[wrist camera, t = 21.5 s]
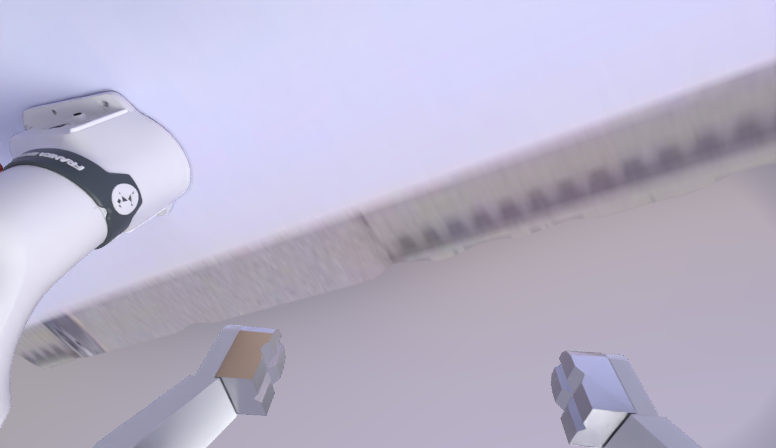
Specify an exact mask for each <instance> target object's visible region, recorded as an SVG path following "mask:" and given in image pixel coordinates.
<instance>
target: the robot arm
mask: <svg viewBox="0 0 776 448" xmlns="http://www.w3.org/2000/svg"><path fill="white" fill-rule="evenodd" d="M106 102H107V103H108V104H107V103H106ZM23 123H24V127H25V131H23V132H20V133H18V134H15V135H13V136H12V137H11V139H10V143H9V147H10V152H11V155H12V158H13V161H12V162H11V163H9V164H8V165H7V166H6V167H4V168H3V167H2V165H1V164H0V429H1V427H2V425H3V424H4V422H5V420H6V418H7V415H8V413H9V410H10V407H11V392H10V375H11V367H12V361H13V357H14V354H15V350H16V347H17V344H18V341H19V339H20V336H21V334H22V332H23V329H24V327H25V325H26V323H27V321H28V319H29V317H30V315H31V314H32V312H33V311H34V309H35V307H36V306H37V304H38V303H39V301H40V300H41V299H42V297H43V296H44V295H45V294H46V293H47V291H48V290H49V289H50V288H51V287H52V286H53V285H54V284H55V283H56V282H57V281H58V280H59V279H61V278H62V277H63V276H64V275H65V274H66V273H67V272H68V271H69V270H70V269H72V268H73V267H74V266H75V265H76V264H77V263H78V262H80V261H81V260H82V259H83V258H84V257H86V256H87V255H88V254H89V253H90V252H92V251H93V250H95V249H99V248H102V247H103V246H105V245H107V244H108V243H110V242H112V241H113V240H115V239H116V238H117V237H119V236H120V234H121V233H122V232H124V233H129V232H131V231H133V230H134V229H136V228H137V227H139V226H140V225H142V224H143V223H145V222H146V221H148V220H149V219H151V218H152V217H154V216H155V215H158V216H164V215H166V214H167V213H169V212H170V211H171V208H172V206H173V202H174V201H175V200H176V199H178V198H179V197H181V196H182V195H183V194H184V193H185V192H186V190H187V189H188V186H189V183H190V167H189V164H188V161H187V158H186V156H185V154H184V152H183V150H182V149H181V147H180V146H179V144H178V143H177V141H176V140H175V139H174V138H173V137H172V136H171V135H170V134H169V133H168V132H167V131H166V130H165V129H164V128H163V127H162V126H160V125H159V124H158V123H156V122H155V121H153V120H152V119H150V118H148V117H147V116H145V115H143V114H142V113H140V112H139V111H137V110H136V109H135V108H134V107H133V106H132V105H131V104H130V103H129V102H128V101H127V100H126V99H125V98H124V97H123V96H121V95H120V94H119V93H117V92H114V91H109V92H104V93H99V94H94V95H89V96H84V97H80V98H75V99H70V100H65V101H60V102H55V103H50V104H45V105H40V106H36V107H31V108H29V109H27V110H25V111H24V112H23ZM280 339H281V334H280V331H279V329H270V328H260V327H249V326H239V325H227V326H226V327H224V328H223V329H222V331H221V333H220V334H219V336H218V338H217V339H216V341H215V343H214V344H213V346H212V348H211V349H210V351H209V353H208V354H207V356H206V358H205V359H204V361H203V363H202V364H201V366H200V368H199V370H198V371H197V373H196V374H195V375H189V376H188V377H187V378H185V379H184V380H183V381H181V382H180V383H178V384H177V385H176V386H174V387H173V388H172V389H170V390H169V391H167V392H166V393H165V394H163V395H162V396H161V397H159V398H158V399H157V400H155V401H154V402H152V403H151V404H149V405H148V406H147V407H146V408H144V409H143V410H141V411H140V412H138V413H137V414H136V415H134V416H133V417H132V418H130V419H129V420H127V421H126V422H125V423H123V424H122V425H121V426H119V427H118V428H116V429H115V430H114V431H112V432H111V433H109V434H108V435H107V436H105V437H104V438H103V439H102V440H100V441H98V442H97V443H96V445H95V446H94V447H93V448H206V447H207V446H208V445H209V444H210V443H211V442H212V441H213V440H214V439H215V438H216V437H217V436H218V435H219V434H220V433H221V432H222V431H223V430H224V429H225V428H226V427H227V426H228V424H230V423H231V422H232V420H233V419H234V418H235V417H236V416H237V414H247V415H262V416H266V415H267V412H268V410H269V407H270V404H271V402H272V399H273V396H274V394H275V392H274V389H273V386H272V385H273V384H274V383H275V382H276V381H277V380H279V379H280V377H281V374H282V371H283V368H284V363H285V348H284V346H283V345H282V344H281V343H280V342H279V341H280ZM559 359H560V362H561V364H560V365H559V366H557V367H555V368H554V371H553V373H552V377H551V386H552V393H553V396H554V399H555V402H556V403H557V404H558V405H559V406H560V407H561V408H562V409H563V410H564V411H563V414H562V416H561V421H562V424H563V427H564V430H565V433H566V436H567V440H568V443H569V444H571V445H579V446H587V447H595V448H702V447H701V446H700V445H698V444H697V443H696V442H695V441H694V440H692V439H691V438H690V437H689V436H688V435H687V434H685V433H684V432H683V431H682V430H681V429H679V428H678V427H677V426H676V425H675V424H673V423H672V422H671V421H670V420H669V419H668V418H666V417H662V416H659V414H658V412H657V411H656V409H655V407H654V405H653V404H652V402H651V400H650V398H649V396H648V395H647V393H646V391H645V390H644V388H643V386H642V384H641V382H640V380H639V379H638V377H637V375H636V373H635V372H634V370H633V368H632V366H631V364H630V363H629V361H628V359H627V358H626V357H625V356H623V355H616V354H602V353H594V352H577V351H564V352H562V354H561V356H560V358H559Z"/></svg>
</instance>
